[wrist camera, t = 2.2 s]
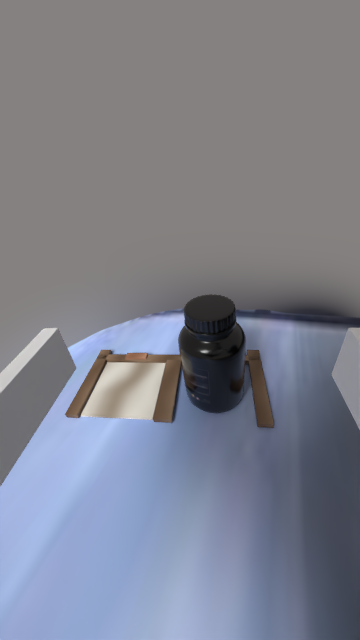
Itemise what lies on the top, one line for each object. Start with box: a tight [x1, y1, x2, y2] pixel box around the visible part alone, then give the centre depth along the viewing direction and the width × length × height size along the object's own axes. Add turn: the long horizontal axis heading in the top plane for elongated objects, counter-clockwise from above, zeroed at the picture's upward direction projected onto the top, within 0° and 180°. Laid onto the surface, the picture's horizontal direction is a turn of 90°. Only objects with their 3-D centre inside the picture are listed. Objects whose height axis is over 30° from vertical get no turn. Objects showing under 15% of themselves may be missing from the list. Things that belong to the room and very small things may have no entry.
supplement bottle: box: [178, 295, 246, 413], centre depth 26 cm, size 7×7×12 cm
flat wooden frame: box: [65, 350, 274, 428], centre depth 31 cm, size 23×11×1 cm, turn 83°
